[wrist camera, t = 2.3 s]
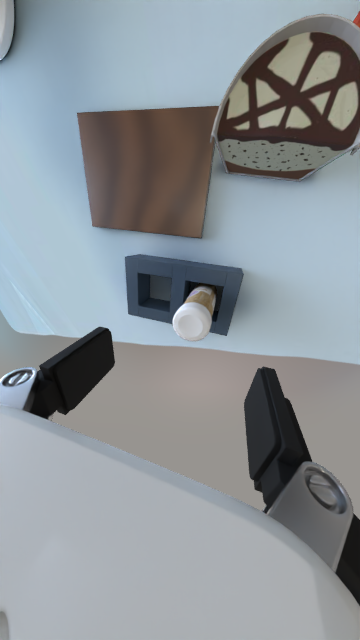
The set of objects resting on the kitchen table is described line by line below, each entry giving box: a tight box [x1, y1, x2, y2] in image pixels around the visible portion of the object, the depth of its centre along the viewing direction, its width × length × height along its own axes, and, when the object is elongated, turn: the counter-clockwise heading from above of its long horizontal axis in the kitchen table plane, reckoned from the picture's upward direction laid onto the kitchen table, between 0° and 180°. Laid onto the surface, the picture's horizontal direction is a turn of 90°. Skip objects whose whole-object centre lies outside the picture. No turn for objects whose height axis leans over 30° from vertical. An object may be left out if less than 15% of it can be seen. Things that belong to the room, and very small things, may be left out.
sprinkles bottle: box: [173, 283, 217, 341], centre depth 25 cm, size 5×5×13 cm
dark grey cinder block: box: [125, 254, 244, 336], centre depth 29 cm, size 19×10×5 cm, turn 85°
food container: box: [210, 14, 360, 182], centre depth 16 cm, size 12×6×10 cm, turn 81°
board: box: [77, 106, 219, 238], centre depth 25 cm, size 20×14×1 cm
